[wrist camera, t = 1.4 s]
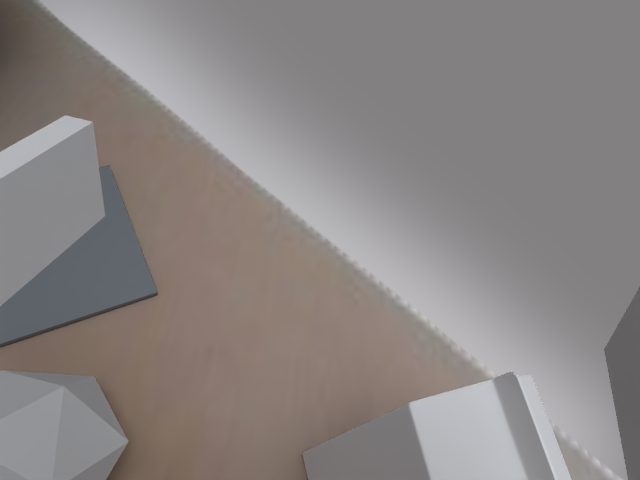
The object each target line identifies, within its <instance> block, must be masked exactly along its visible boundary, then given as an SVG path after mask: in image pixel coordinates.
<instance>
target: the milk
mask: <svg viewBox="0 0 640 480" xmlns="http://www.w3.org/2000/svg"><path fill="white" fill-rule="evenodd" d="M302 455H303V460H304V464H305V469H306V474H307V478H308V480H572V479H571V477H570V474H569V472H568V469H567V466H566V464H565V461H564V458H563V456H562V453H561V451H560V448H559V445H558V443H557V440H556V437H555V435H554V432H553V430H552V427H551V424H550V422H549V419H548V417H547V414H546V411H545V409H544V406H543V403H542V401H541V398H540V396H539V393H538V391H537V388H536V385H535V383H534V380H533V378H532V376H531V375H521V376H518V375H517V374H516V373H514V372H509V373H506V374H504V375H501V376H499V377H496V378H494V379H491V380H487V381H484V382H480V383H477V384H473V385H469V386H466V387H462V388H459V389H455V390H452V391H448V392H444V393H441V394H437V395H434V396H430V397H426V398H423V399H419V400H416V401H412V402H410V403H407V404H405V405H403V406H401V407H399V408H397V409H395V410H392V411H390V412H388V413H386V414H384V415H382V416H380V417H377V418H375V419H373V420H371V421H369V422H367V423H364V424H362V425H360V426H358V427H356V428H354V429H352V430H349V431H347V432H345V433H343V434H341V435H339V436H337V437H334V438H332V439H330V440H328V441H326V442H324V443H321V444H319V445H317V446H315V447H313V448H311V449H309V450H306V451H304V452H303V453H302Z"/></svg>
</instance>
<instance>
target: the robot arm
mask: <svg viewBox="0 0 640 480" xmlns="http://www.w3.org/2000/svg"><path fill="white" fill-rule="evenodd" d="M103 217H105V210H104V203H103V195H102V187H101V180H100V172H99V164H98V157H97V149H96V141H95V134H94V126H93V122H91V121H87V120H83V119H79V118H74V117H70V116H66V115H65V116H63V117H62V118H60V119H58V120H56V121H54V122H53V123H51V124H49V125H47V126H46V127H44V128H42V129H40V130H38V131H37V132H35V133H33V134H31V135H30V136H28V137H26V138H24V139H22V140H21V141H19V142H17V143H15V144H14V145H12V146H10V147H8V148H6V149H5V150H3V151H1V152H0V306H1V305H2V304H4V303H5V302H6V301H7V300H8V299H9V298H11V297H12V296H13V295H14V294H15V293H16V292H18V291H19V290H20V289H21V288H22V287H23V286H24V285H26V284H27V283H28V282H29V281H30V280H31V279H33V278H34V277H35V276H36V275H37V274H38V273H40V272H41V271H42V270H43V269H44V268H45V267H47V266H48V265H49V264H50V263H51V262H52V261H53V260H55V259H56V258H57V257H58V256H59V255H60V254H62V253H63V252H64V251H65V250H66V249H67V248H69V247H70V246H71V245H72V244H73V243H74V242H76V241H77V240H78V239H79V238H80V237H81V236H82V235H84V234H85V233H86V232H87V231H88V230H89V229H91V228H92V227H93V226H94V225H95V224H96V223H98V222H99V221H100V220H101V219H102V218H103ZM604 351H605V356H606V362H607V367H608V372H609V378H610V383H611V389H612V394H613V399H614V405H615V410H616V416H617V421H618V426H619V432H620V437H621V443H622V448H623V453H624V459H625V464H626V469H627V475H628V480H640V287H639V289H638V291H637V293H636V294H635V296H634V298H633V300H632V302H631V303H630V305H629V307H628V309H627V310H626V312H625V314H624V316H623V317H622V319H621V321H620V322H619V324H618V326H617V328H616V330H615V331H614V333H613V335H612V337H611V338H610V340H609V342H608V344H607V345H606V347H605V349H604Z"/></svg>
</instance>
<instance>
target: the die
mask: <svg viewBox="0 0 640 480" xmlns="http://www.w3.org/2000/svg"><path fill="white" fill-rule="evenodd" d="M128 442H129V441H128V439H127V437H126V436H125V434H124V432H123V430H122V428H121V426H120V424H119V422H118V420H117V418H116V417H115V415H114V413H113V411H112V409H111V407H110V405H109V403H108V401H107V399H106V398H105V396H104V394H103V392H102V390H101V388H100V386H99V384H98V382H97V380H96V379H95V377H94V376H85V375H70V374H54V373H38V372H23V371H7V370H1V371H0V480H106V479H107V478H108V476H109V474H110V472H111V471H112V469H113V467H114V466H115V464H116V462H117V461H118V459H119V457H120V455H121V454H122V452H123V450H124V449H125V447H126V445H127V443H128Z"/></svg>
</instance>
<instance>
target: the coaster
mask: <svg viewBox="0 0 640 480" xmlns="http://www.w3.org/2000/svg"><path fill="white" fill-rule="evenodd" d="M99 172H100V180H101V187H102V195H103V203H104V210H105V217H103V218H102V219H101V220H100V221H99V222H98V223H96V224H95V225H94V226H93V227H92V228H91V229H89V230H88V231H87V232H86V233H85V234H84V235H82V236H81V237H80V238H79V239H78V240H77V241H76V242H74V243H73V244H72V245H71V246H70V247H69V248H67V249H66V250H65V251H64V252H63V253H62V254H60V255H59V256H58V257H57V258H56V259H55V260H53V261H52V262H51V263H50V264H49V265H48V266H47V267H45V268H44V269H43V270H42V271H41V272H40V273H38V274H37V275H36V276H35V277H34V278H33V279H31V280H30V281H29V282H28V283H27V284H26V285H24V286H23V287H22V288H21V289H20V290H19V291H18V292H16V293H15V294H14V295H13V296H12V297H11V298H9V299H8V300H7V301H6V302H5V303H4V304H2V305H1V306H0V347H2V346H5V345H8V344H11V343H14V342H17V341H20V340H23V339H26V338H29V337H32V336H35V335H38V334H41V333H44V332H47V331H50V330H53V329H57V328H60V327H63V326H66V325H69V324H72V323H75V322H78V321H81V320H84V319H87V318H90V317H93V316H96V315H99V314H102V313H105V312H108V311H111V310H114V309H117V308H120V307H123V306H126V305H129V304H132V303H135V302H138V301H141V300H144V299H147V298H150V297H153V296H156V295H157V290H156V287H155V284H154V282H153V279H152V277H151V274H150V271H149V269H148V266H147V263H146V261H145V258H144V255H143V253H142V250H141V247H140V245H139V242H138V239H137V237H136V234H135V231H134V229H133V226H132V224H131V221H130V218H129V216H128V213H127V210H126V208H125V205H124V202H123V200H122V197H121V194H120V192H119V189H118V186H117V184H116V181H115V178H114V176H113V173H112V171H111V168H110V165H109V166H105V167H100V168H99Z"/></svg>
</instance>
